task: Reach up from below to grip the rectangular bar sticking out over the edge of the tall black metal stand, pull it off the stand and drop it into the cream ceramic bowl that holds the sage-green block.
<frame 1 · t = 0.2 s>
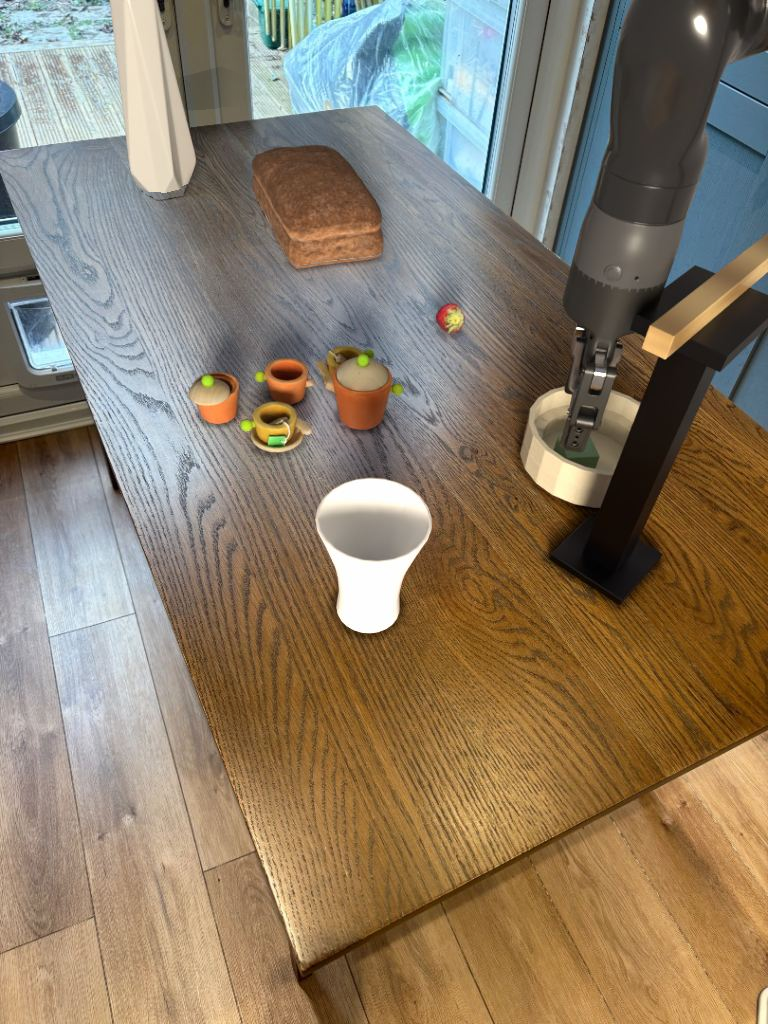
hand: (573, 419, 71), 18 cm above the table, tool pointing down, fingers open, 8 cm apart
rectangular bar: (723, 295, 61), point 32 cm above the table, touching stand
fruit: (447, 330, 113), on the table
vase: (162, 194, 139), on the table
cup: (367, 608, 77), on the table
stand: (604, 559, 83), on the table
toy tea set: (297, 413, 98), on the table
bowl: (585, 463, 94), on the table
bread: (314, 228, 133), on the table
block: (570, 470, 92), point 1 cm above the table, touching bowl
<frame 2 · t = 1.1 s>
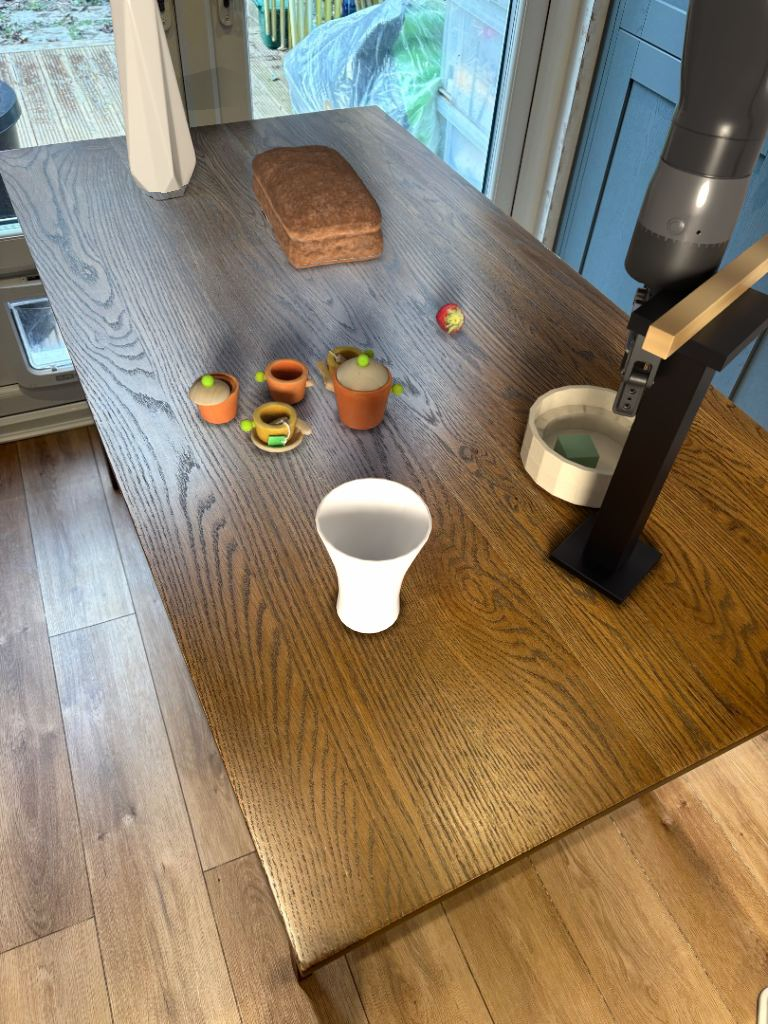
hand: (626, 392, 72), 20 cm above the table, tool pointing down, fingers open, 7 cm apart
nothing on the table moved.
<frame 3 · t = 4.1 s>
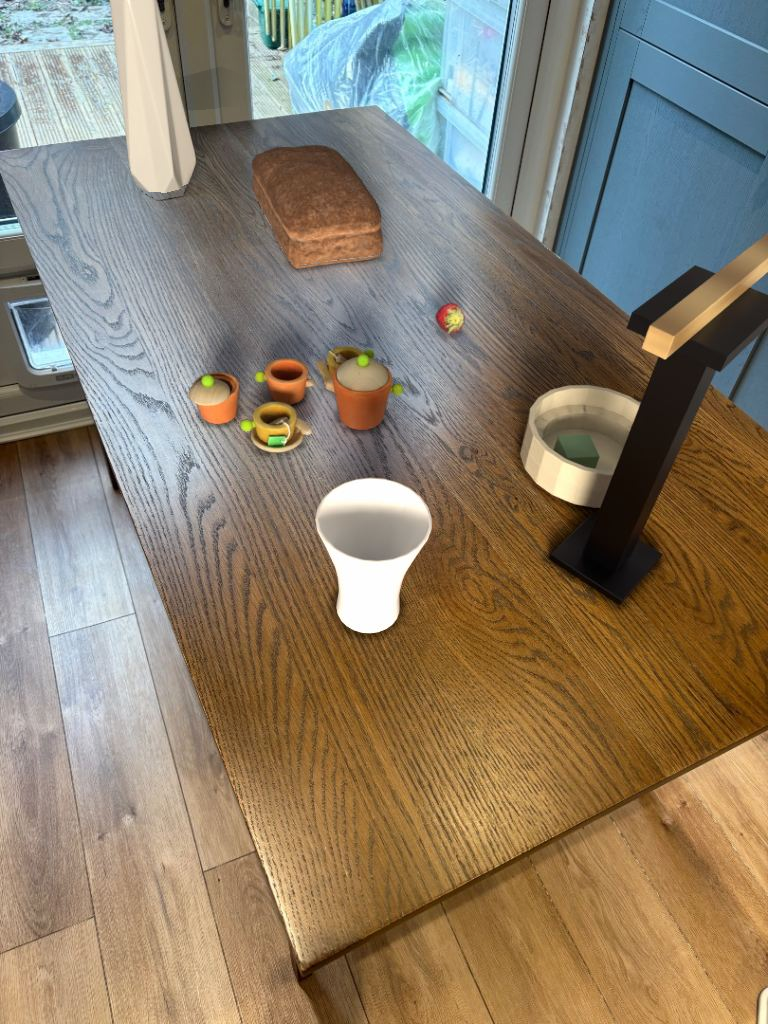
nothing on the table moved.
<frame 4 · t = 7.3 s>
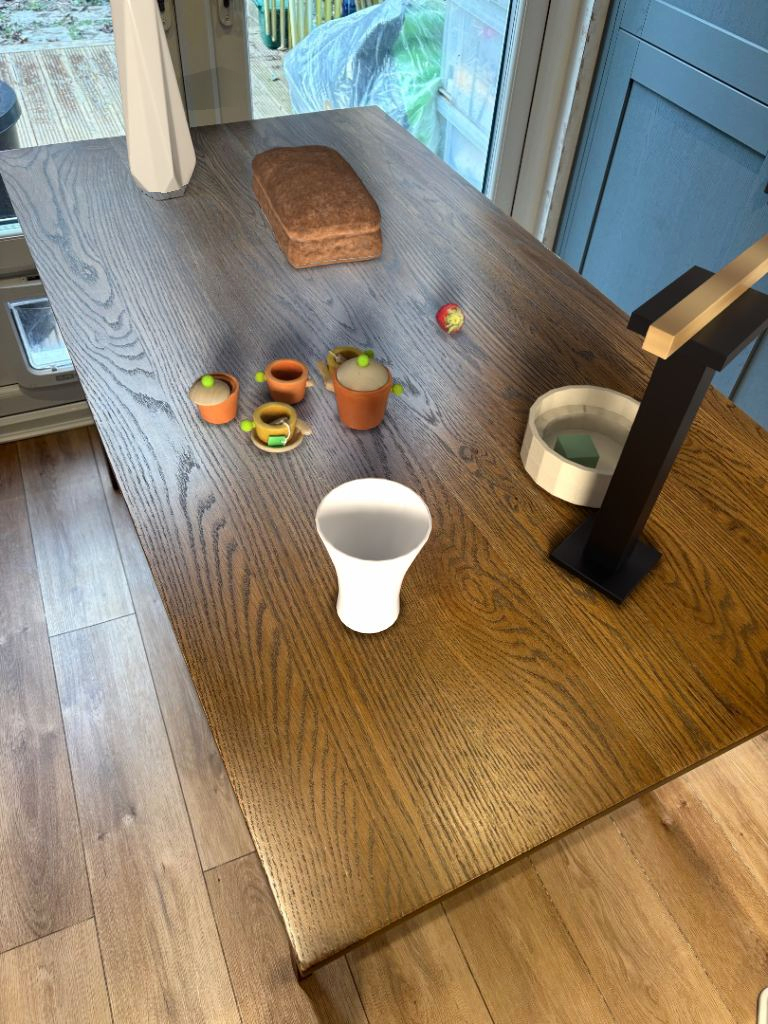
nothing on the table moved.
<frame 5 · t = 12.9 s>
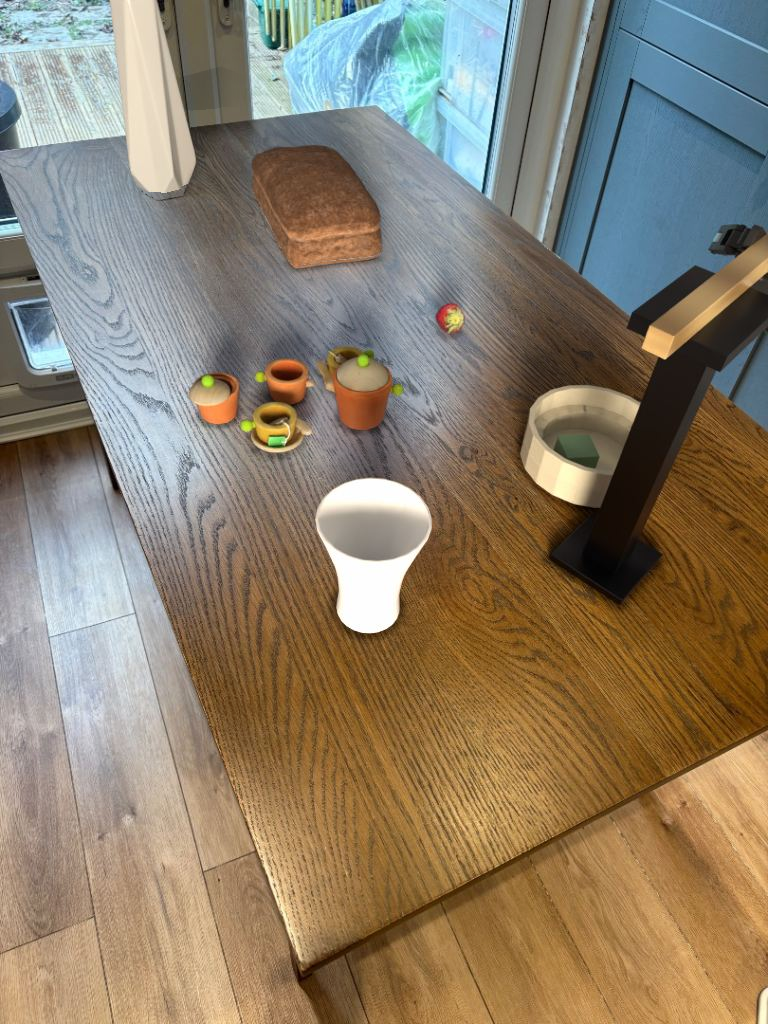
hand: (765, 243, 62), 34 cm above the table, tool pointing upward, fingers closed on rectangular bar, 2 cm apart
rectangular bar: (723, 295, 61), point 32 cm above the table, touching gripper, stand
everything else where it was.
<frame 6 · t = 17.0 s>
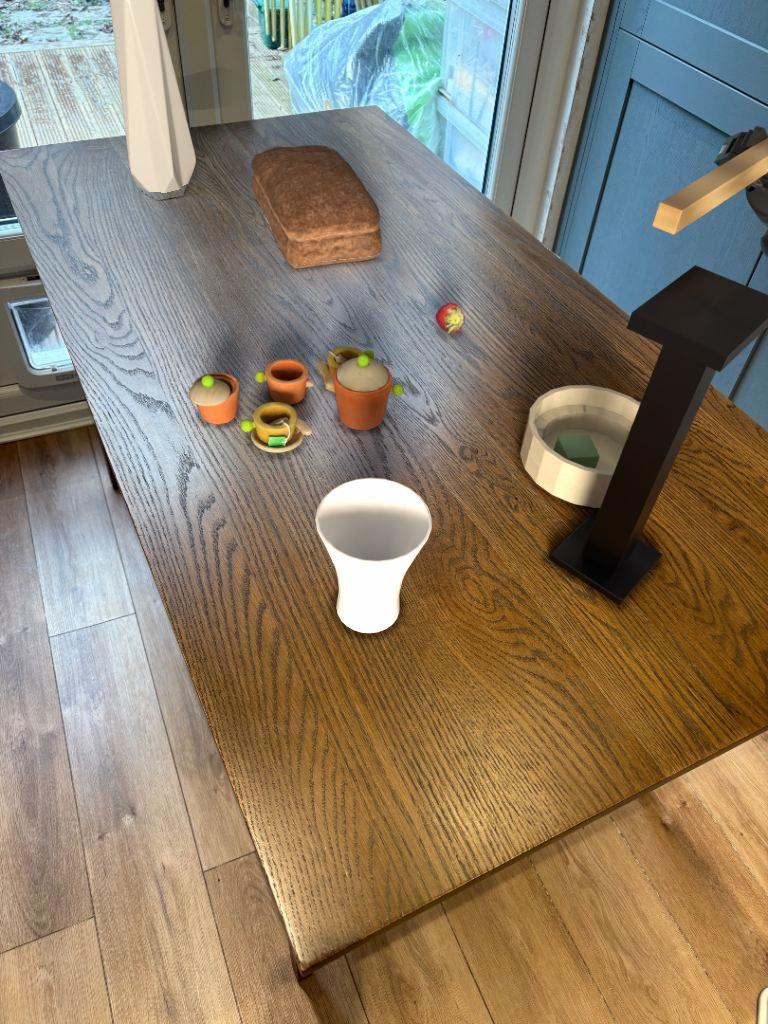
hand: (767, 142, 68), 38 cm above the table, tool pointing upward, fingers closed on rectangular bar
rectangular bar: (727, 188, 66), point 36 cm above the table, touching gripper
everything else where it was.
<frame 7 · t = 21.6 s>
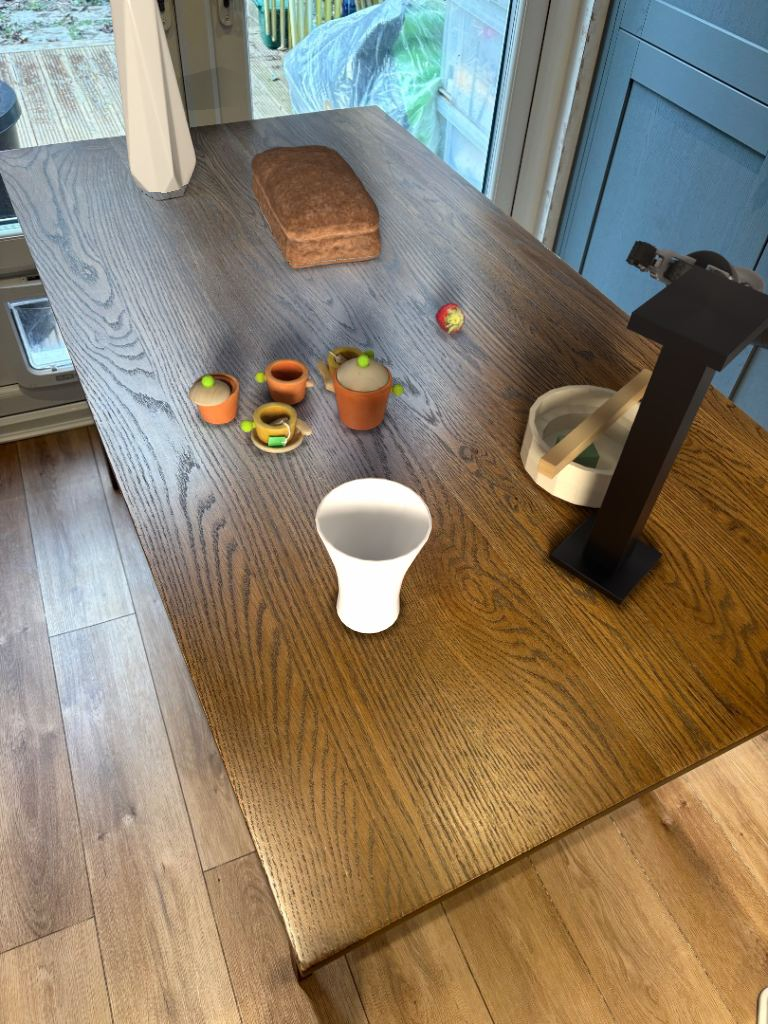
hand: (675, 265, 80), 25 cm above the table, tool pointing upward, fingers open, 8 cm apart
rectangular bar: (599, 426, 90), point 6 cm above the table, touching bowl
everything else where it was.
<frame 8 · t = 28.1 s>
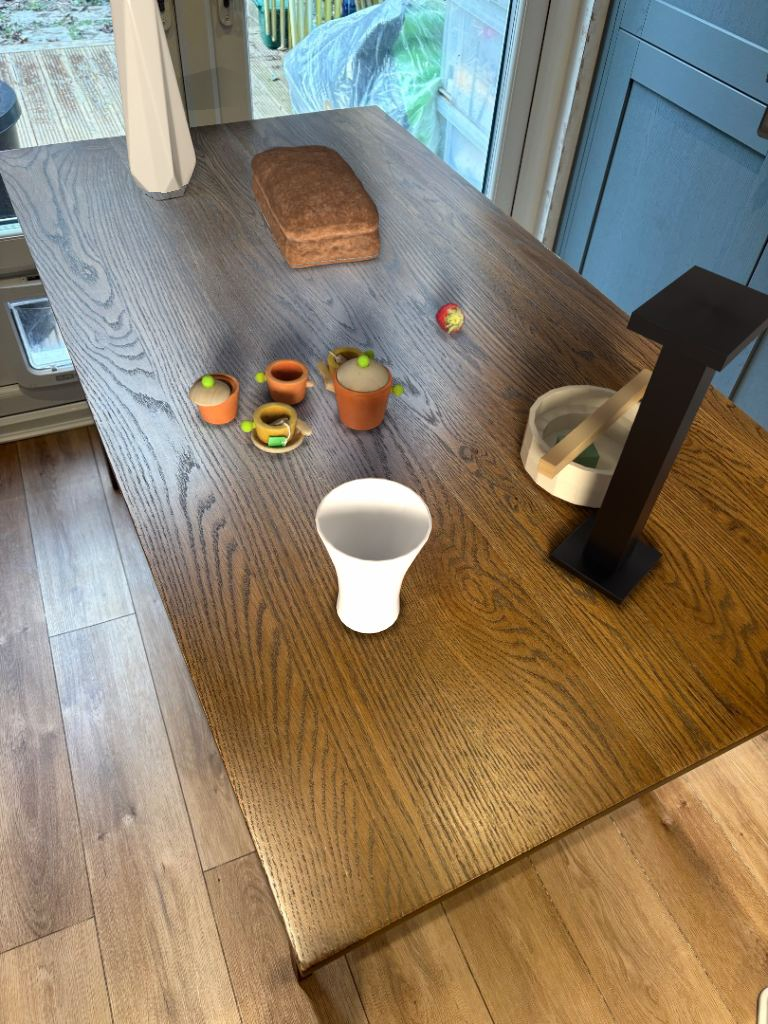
nothing on the table moved.
at the end: rectangular bar 0.2 cm from the bowl (horizontally); rectangular bar point 6.0 cm above the table; the gripper is holding nothing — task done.
